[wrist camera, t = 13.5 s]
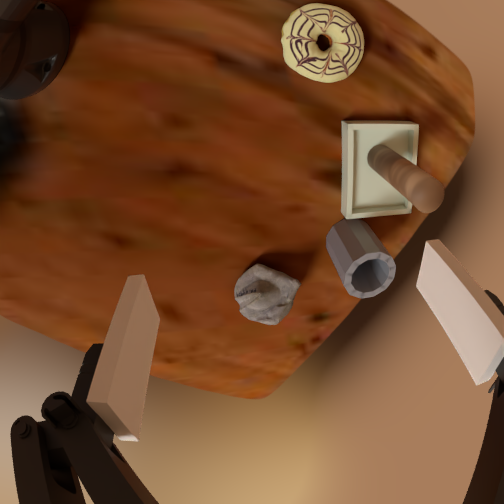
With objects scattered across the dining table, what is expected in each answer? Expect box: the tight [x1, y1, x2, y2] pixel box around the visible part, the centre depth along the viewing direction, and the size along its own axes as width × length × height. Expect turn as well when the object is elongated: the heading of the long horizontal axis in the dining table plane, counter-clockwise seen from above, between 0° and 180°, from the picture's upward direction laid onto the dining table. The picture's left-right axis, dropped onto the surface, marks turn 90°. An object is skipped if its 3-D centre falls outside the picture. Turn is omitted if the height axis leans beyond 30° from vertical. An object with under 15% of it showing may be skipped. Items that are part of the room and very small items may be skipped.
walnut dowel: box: [367, 144, 444, 213], centre depth 37 cm, size 5×4×14 cm
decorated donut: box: [281, 3, 364, 83], centre depth 33 cm, size 10×11×4 cm
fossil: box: [234, 263, 301, 325], centre depth 51 cm, size 11×9×8 cm
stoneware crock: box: [326, 218, 396, 298], centre depth 47 cm, size 8×8×10 cm
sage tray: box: [341, 120, 419, 219], centre depth 43 cm, size 14×11×2 cm
